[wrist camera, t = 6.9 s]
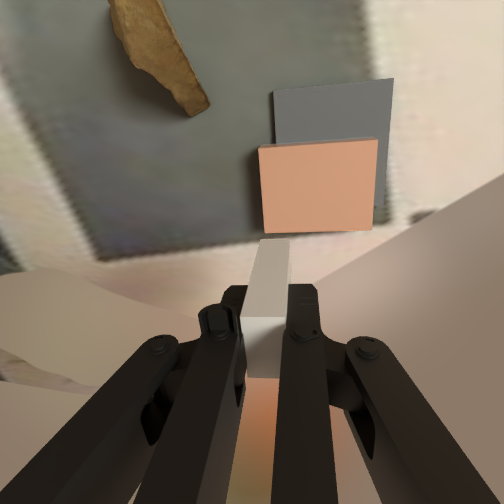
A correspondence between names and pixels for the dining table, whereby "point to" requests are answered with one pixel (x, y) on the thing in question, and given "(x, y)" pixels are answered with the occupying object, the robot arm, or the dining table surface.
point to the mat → (338, 117)
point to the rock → (158, 50)
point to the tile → (318, 185)
